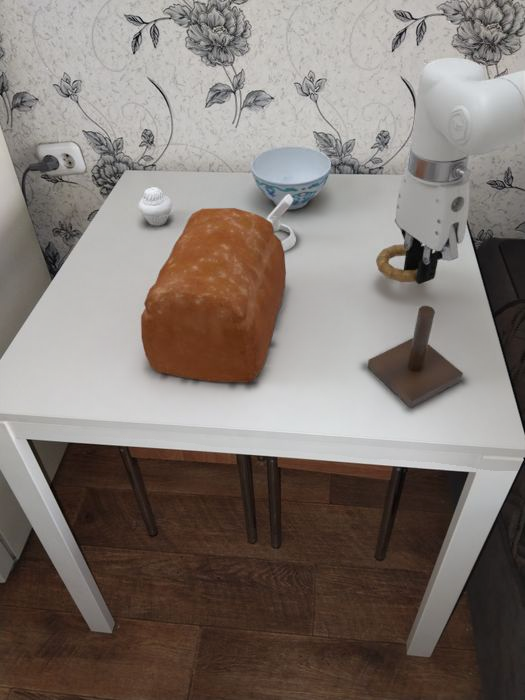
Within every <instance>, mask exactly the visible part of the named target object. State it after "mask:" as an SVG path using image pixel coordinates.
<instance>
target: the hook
mask: <svg viewBox="0 0 525 700" xmlns="http://www.w3.org/2000/svg"><path fill="white" fill-rule="evenodd" d="M292 202H293V198H292V197H291V195H290V194H288V195H286V196H285V197H284V198H283V199H282V201H281V202H280V203H279V204H278V205H276V206H275V207H274V208H273V210H272V211H271V212H270V213H269V214H268V216H267V217H266V219H267V220H268V221H270V222H271V223H272V226H273V229H274V232H278V231H283V232H286V233H289V235H288V237H287V238H286V239H283V240H280V241H281V243H282V247H283V250H284V252H286V251H289V250H290V249H293V247H294V246H295V245H296V242H297V237H296V234H295V232H294V231H293V229H292V228H291V227H290V226H289V225H287V224H284V223H281V222H280V218H281V217H282V216H283V215H284V213H285V212H286V211H287V210H289V209H288V208H289V206H290V205H291V204H292Z"/></svg>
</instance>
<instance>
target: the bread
mask: <svg viewBox="0 0 525 700" xmlns="http://www.w3.org/2000/svg"><path fill="white" fill-rule="evenodd" d="M281 241H282V240H281V239H280V238H279V237H278V236H277V235H275V231H274V229H273V226H272V223H271V222H270V221H268V220H267V218H265V217H264V216H262V215H259V214H257V213H253V212H250V211H247V210H243V209H240V208H237V207H213V208H211V207H210V208H200V209H199V210H198V211H195V212H194V213H192V214H191V216H190V217H189V218H188V219H187V222H186V224H185V226H184V229H183V230H182V233H181V234H180V236H179V237H178V239H176V242H175V243H174V245H173V247H172V248H171V252H170V254H169V256H168V258H167V259H166V261H165V262H164V264H163V265H162V267H161V268H160V270H159V273H158V274H157V277H156V280H155V282H154V284H153V285H152V286H151V287H150V288H149V289H148V292H147V294H146V298H145V300H144V303H143V305H144V307H145V308H144V310H143V312H142V313H141V315H140V327H141V329H140V331H141V332H140V333H141V341H142V347H143V350H144V355H145V357H146V360H147V361H148V364H149V366H150V367H151V368H152V369H153V370H154V371H155V372H157V373H162V374H165V375H171V376H174V377H179V378H185V379H191V380H198V381H199V380H200V381H208V382H216V383H218V382H220V383H222V382H224V383H250V382H251V381H252V380H254V379H255V378H257V377H258V375H259V373H260V372H261V370H262V369H263V368H264V366H265V364H266V360H267V356H268V353H269V350H270V346H271V342H272V337H273V333H274V329H275V324H276V320H277V315H278V311H279V310H280V308H281V306H282V302H283V298H284V295H285V288H286V278H287V276H286V275H287V270H286V269H287V268H286V257H285V251H284V250H283V247H282V243H281Z"/></svg>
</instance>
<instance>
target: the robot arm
mask: <svg viewBox="0 0 525 700" xmlns="http://www.w3.org/2000/svg"><path fill="white" fill-rule="evenodd" d="M485 78H486V75H485V71H484V68H483V66H481V65H480V63H478V62H476V61H474V60H471V59H467V58H463V57H443V58H437V59H434V60H432V61H430V62H429V63H427V64H426V65H425V66H424V67H423V69H422V70H421V73H420V76H419V82H418V88H417V96H416V104H415V109H414V110H415V111H414V119H413V126H412V134H411V141H410V147H409V156H408V163H407V164H406V166H405V169H404V171H403V175H402V179H401V180H400V186H399V190H398V195H397V199H396V200H397V201H396V207H395V217H394V223H395V225H396V227H398V229H399V230H400V233H401V235H402V239H403V245H404V248H405V250H407V252H406V256H404V263H403V270H416V269H418V271H417V277H416V282H415V283H416V284H418V285H422V284H424V283H426V282H429V281H432V280H434V279H435V277H436V272H437V267H438V262H439V260H442V261H448V262H451V261H454V260H456V259H458V258H459V249H458V245H459V244H462V243H463V241H464V238H465V234H466V230H467V229H466V228H467V223H468V216H469V209H470V208H469V207H470V179H469V176H471V169H469V168H468V163H469V158H470V156H480V155H485V154H488V153H492V152H494V151H499V150H500V149H503V148H506V147H509V146H511V145H514V144H516V143H520V142H523V141H525V69H523V70H520V71H519V70H518V71H516V72H512V73H508V74H504V75H501V76H497V77H495V78H491V79H490V78H489V79H485Z"/></svg>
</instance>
